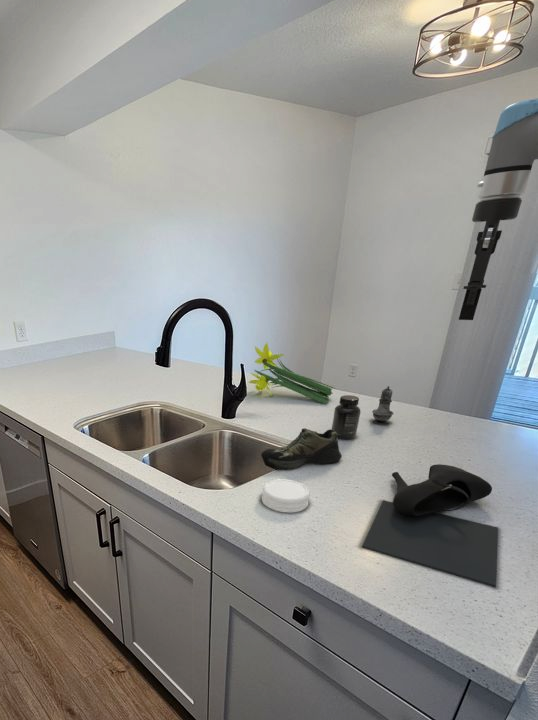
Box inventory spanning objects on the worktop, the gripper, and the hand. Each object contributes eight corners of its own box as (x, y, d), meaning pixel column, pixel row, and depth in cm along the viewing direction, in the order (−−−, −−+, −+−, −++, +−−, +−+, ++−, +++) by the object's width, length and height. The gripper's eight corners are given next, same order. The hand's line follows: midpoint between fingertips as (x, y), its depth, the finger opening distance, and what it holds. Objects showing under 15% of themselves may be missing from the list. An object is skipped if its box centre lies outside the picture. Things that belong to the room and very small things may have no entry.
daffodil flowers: (316, 412, 152) (230, 375, 167) (319, 421, 165) (239, 386, 180) (342, 369, 149) (253, 335, 165) (343, 381, 162) (260, 348, 178)
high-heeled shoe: (479, 490, 97) (514, 530, 80) (382, 489, 105) (395, 526, 88) (483, 456, 95) (519, 491, 78) (384, 458, 102) (397, 490, 85)
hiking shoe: (254, 459, 119) (256, 428, 114) (327, 450, 121) (332, 419, 117) (267, 473, 111) (270, 440, 107) (345, 463, 114) (351, 430, 109)
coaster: (297, 518, 92) (299, 504, 90) (253, 504, 98) (255, 491, 96) (314, 499, 99) (316, 485, 97) (273, 487, 105) (274, 474, 103)
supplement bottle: (358, 435, 130) (366, 396, 124) (351, 442, 125) (358, 402, 120) (334, 430, 134) (341, 392, 129) (327, 437, 129) (333, 398, 124)
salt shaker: (365, 421, 139) (373, 384, 134) (380, 418, 141) (388, 382, 135) (380, 427, 134) (388, 389, 129) (395, 424, 136) (404, 386, 130)
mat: (497, 529, 85) (497, 527, 84) (494, 588, 71) (495, 585, 71) (382, 502, 96) (383, 500, 96) (361, 548, 82) (362, 545, 82)
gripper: (478, 202, 96) (448, 315, 106) (475, 199, 87) (443, 323, 97) (522, 198, 91) (487, 316, 102) (523, 194, 82) (485, 324, 93)
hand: (465, 319), depth 100 cm, fingers closed
